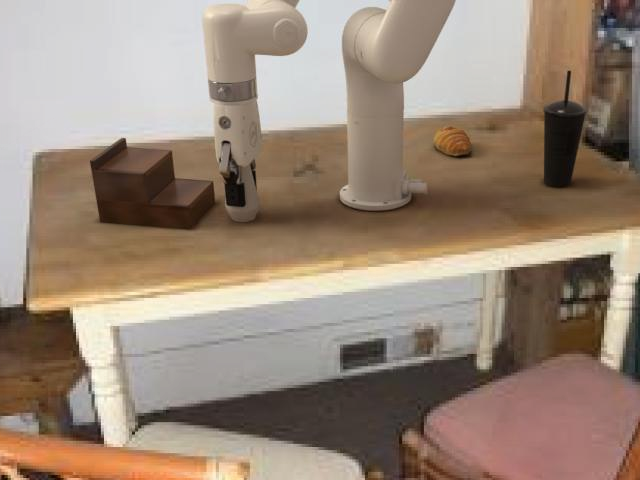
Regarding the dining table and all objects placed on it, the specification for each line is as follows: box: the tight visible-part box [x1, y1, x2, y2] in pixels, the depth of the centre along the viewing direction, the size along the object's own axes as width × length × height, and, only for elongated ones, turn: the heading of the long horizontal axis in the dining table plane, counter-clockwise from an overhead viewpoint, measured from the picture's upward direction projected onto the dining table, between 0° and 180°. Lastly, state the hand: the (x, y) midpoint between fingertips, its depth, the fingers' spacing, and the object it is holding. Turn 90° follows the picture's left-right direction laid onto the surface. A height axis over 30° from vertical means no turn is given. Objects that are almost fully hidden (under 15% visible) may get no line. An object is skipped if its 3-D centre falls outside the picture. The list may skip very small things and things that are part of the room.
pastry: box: [433, 125, 472, 157], centre depth 185 cm, size 9×7×4 cm
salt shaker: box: [224, 160, 261, 223], centre depth 153 cm, size 6×6×13 cm
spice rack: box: [89, 137, 216, 230], centre depth 156 cm, size 16×12×11 cm
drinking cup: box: [542, 70, 588, 188], centre depth 165 cm, size 8×8×20 cm
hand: (241, 198), depth 155 cm, fingers open, 5 cm apart
